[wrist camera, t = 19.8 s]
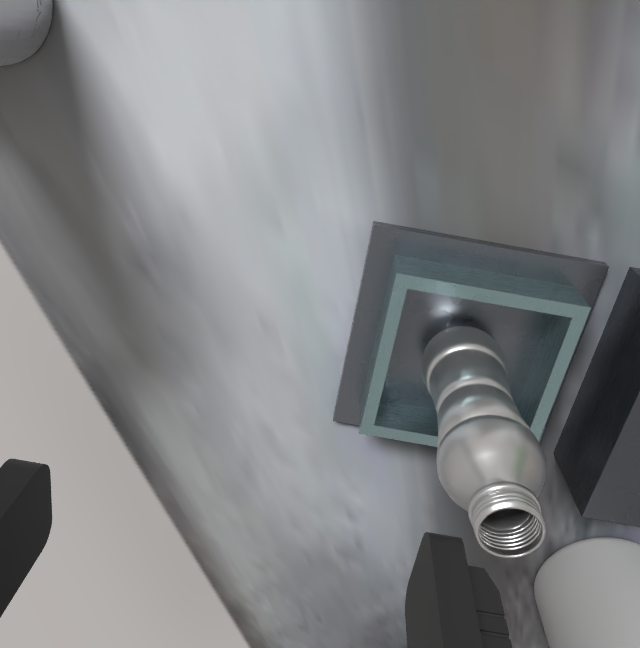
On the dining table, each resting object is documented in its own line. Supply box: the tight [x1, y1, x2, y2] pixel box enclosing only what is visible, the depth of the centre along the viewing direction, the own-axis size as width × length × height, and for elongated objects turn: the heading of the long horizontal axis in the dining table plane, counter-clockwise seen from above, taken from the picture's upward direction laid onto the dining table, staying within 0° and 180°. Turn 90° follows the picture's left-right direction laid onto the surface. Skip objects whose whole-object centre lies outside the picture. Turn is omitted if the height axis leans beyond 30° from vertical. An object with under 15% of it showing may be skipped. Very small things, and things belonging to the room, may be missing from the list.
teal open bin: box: [333, 221, 640, 527], centre depth 47 cm, size 26×18×8 cm
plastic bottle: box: [421, 326, 546, 558], centre depth 41 cm, size 6×7×20 cm
